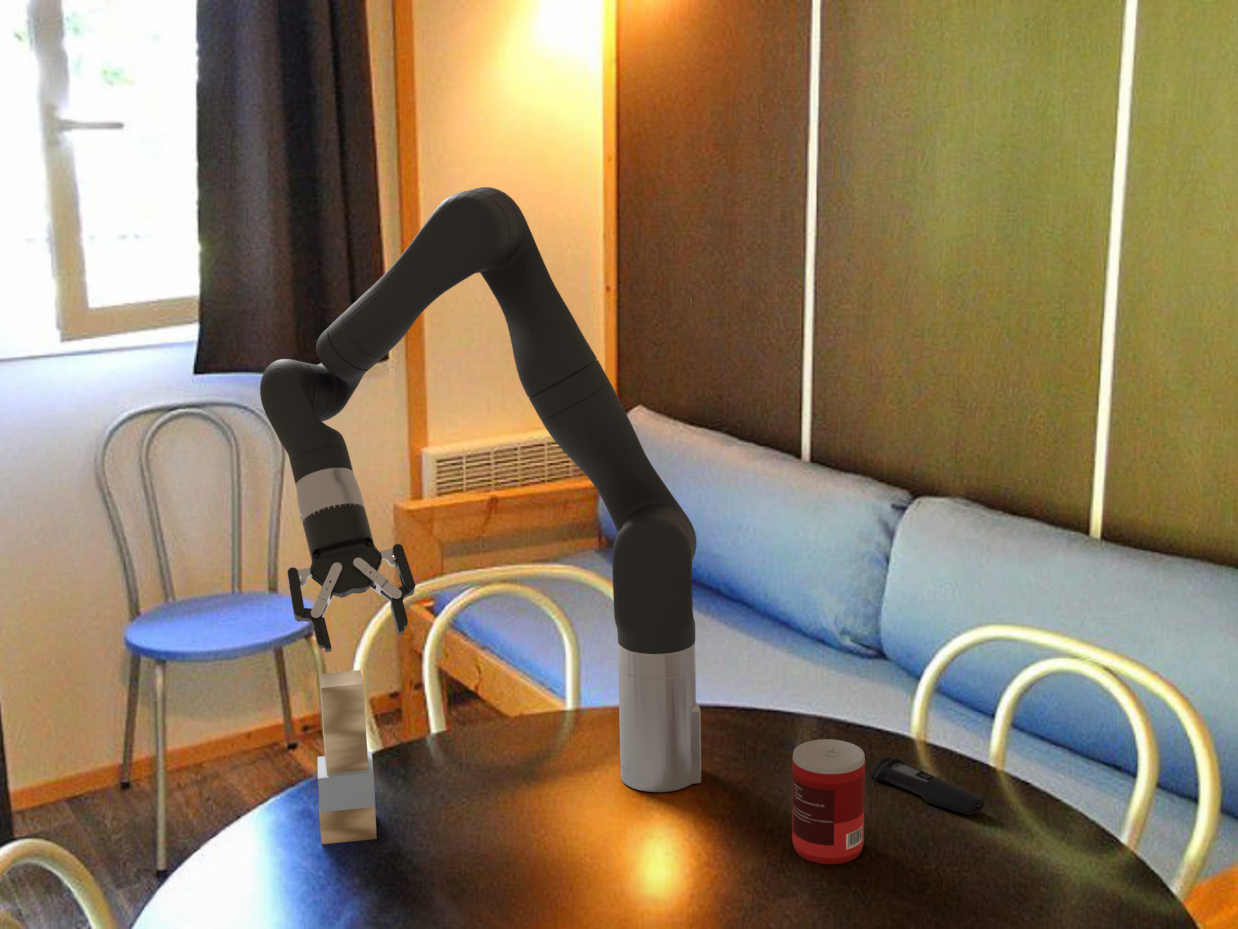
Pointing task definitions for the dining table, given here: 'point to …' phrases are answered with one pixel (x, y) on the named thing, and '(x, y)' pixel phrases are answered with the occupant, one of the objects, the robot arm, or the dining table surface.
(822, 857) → the canned food
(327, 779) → the tower mid
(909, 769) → the electric trimmer
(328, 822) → the tower base
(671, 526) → the robot arm
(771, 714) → the dining table surface
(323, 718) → the maple block
